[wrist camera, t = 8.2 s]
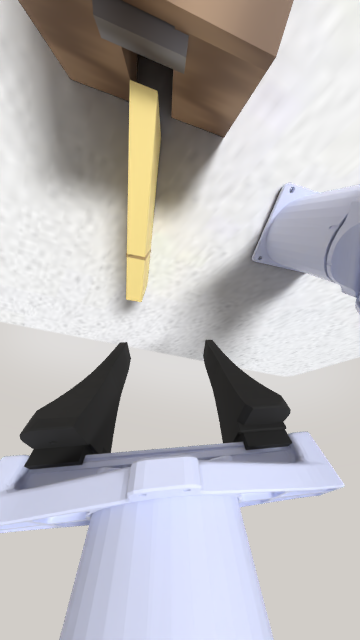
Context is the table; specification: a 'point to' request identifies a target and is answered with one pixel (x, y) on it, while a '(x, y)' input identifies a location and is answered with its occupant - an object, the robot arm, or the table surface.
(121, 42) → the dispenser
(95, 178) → the table surface
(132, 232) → the ticket
